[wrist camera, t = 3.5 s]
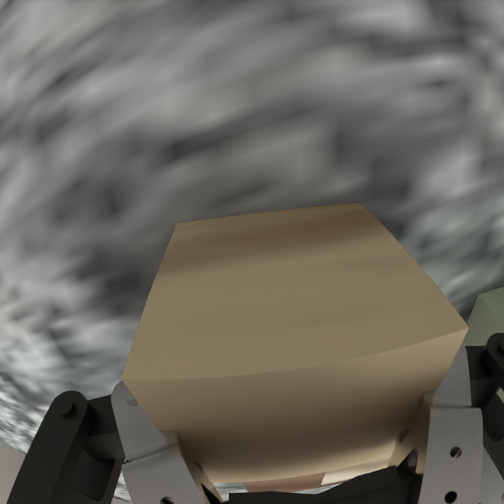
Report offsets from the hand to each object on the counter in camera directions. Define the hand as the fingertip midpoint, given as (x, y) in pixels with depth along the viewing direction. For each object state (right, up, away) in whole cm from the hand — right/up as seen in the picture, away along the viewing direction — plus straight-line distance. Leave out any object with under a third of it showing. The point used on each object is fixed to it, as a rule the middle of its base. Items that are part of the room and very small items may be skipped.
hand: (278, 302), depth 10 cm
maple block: (0, 0, +1) cm, 1 cm away
